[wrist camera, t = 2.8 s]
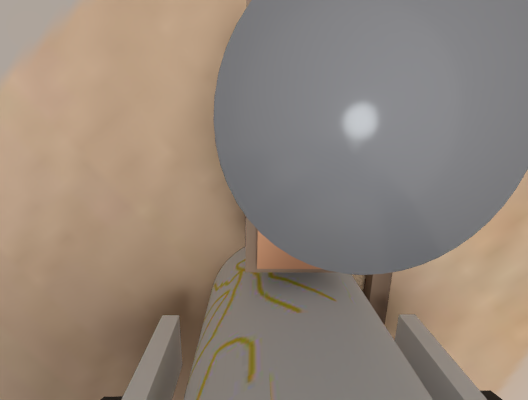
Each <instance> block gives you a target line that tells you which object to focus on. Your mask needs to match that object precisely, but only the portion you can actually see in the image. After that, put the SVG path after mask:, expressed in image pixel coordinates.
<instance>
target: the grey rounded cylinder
mask: <svg viewBox="0 0 528 400" xmlns="http://www.w3.org/2000/svg"><path fill="white" fill-rule="evenodd" d="M214 129H215V141H216V147H217V151H218V156H219V160H220V165H221V168H222V170H223V173H224V176H225V179H226V182H227V184H228V186H229V188H230V190H231V192H232V194H233V196H234V198H235V200H236V202H237V204H238V205H239V207H240V208H241V210H242V211H243V212H244V214H245V215H246V217H247V218H248V220H249V221H250V222H251V223H252V224H253V225H254V226H255V227H256V228H257V230H258V231H259V232H260V233H261V234H262V235H263V236H265V237H266V238H267V239H268V240H269V241H270V242H272V243H273V244H274V245H275V246H276V247H278V248H280V249H281V250H283V251H284V252H286V253H287V254H289V255H290V256H292V257H294V258H296V259H298V260H300V261H303V262H305V263H307V264H309V265H312V266H315V267H318V268H321V269H324V270H328V271H333V272H339V273H344V274H358V275H371V274H385V273H390V272H396V271H402V270H405V269H408V268H412V267H415V266H419V265H422V264H424V263H426V262H429V261H431V260H433V259H436V258H438V257H440V256H442V255H444V254H445V253H447V252H449V251H451V250H453V249H454V248H456V247H458V246H459V245H460V244H462V243H463V242H465V241H466V240H468V239H469V238H470V237H472V236H473V235H474V234H475V233H477V232H478V231H479V230H480V229H481V228H482V227H483V226H485V225H486V224H487V223H488V222H489V221H490V220H491V219H492V218H493V217H494V216H495V214H496V213H497V212H498V211H499V210H500V209H501V208H502V207H503V206H504V204H505V203H506V202H507V200H508V199H509V198H510V196H511V195H512V194H513V192H514V191H515V189H516V188H517V186H518V185H519V183H520V181H521V180H522V178H523V176H524V174H525V173H526V171H527V169H528V0H252V1H251V2H250V3H249V5H248V7H247V8H246V10H245V11H244V13H243V15H242V16H241V18H240V20H239V21H238V23H237V25H236V27H235V29H234V31H233V34H232V36H231V38H230V40H229V43H228V45H227V47H226V50H225V53H224V57H223V60H222V63H221V67H220V70H219V74H218V80H217V86H216V92H215V101H214Z"/></svg>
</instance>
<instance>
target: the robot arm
mask: <svg viewBox="0 0 528 400" xmlns="http://www.w3.org/2000/svg"><path fill="white" fill-rule="evenodd" d="M395 342H396V344H397V345H398V347H399V348H400V350H401V351H402V353H403V354H404V356H405V358H406V359H407V361H408V362H409V364H410V365H411V367H412V368H413V370H414V371H415V373H416V374H417V376H418V377H419V379H420V381H421V382H422V384H423V385H424V387H425V388H426V390H427V391H428V393H429V394H430V396H431V397H432V399H433V400H502V399H501V398H499V397H498V396H497V395H496V394H494V393H493V392H492V391H480V390H479V389H478V388H477V387H476V386H475V385H474V383H473V382H472V381H471V380H470V379H469V377H468V376H467V375H466V374H465V373H464V372H463V370H462V369H461V368H460V367H459V366H458V365H457V363H456V362H455V361H454V360H453V359H452V357H451V356H450V355H449V354H448V353H447V352H446V350H445V349H444V348H443V347H442V346H441V345H440V343H439V342H438V341H437V340H436V339H435V337H434V336H433V335H432V334H431V333H430V332H429V330H428V329H427V328H426V327H425V326H424V325H423V323H422V322H421V321H420V320H419V319H418V317H417V316H416V315H415V314H402V315H399V317H398V324H397V330H396V336H395ZM181 368H182V350H181V334H180V318H179V315H162V317H161V319H160V321H159V323H158V325H157V327H156V329H155V331H154V334H153V336H152V338H151V340H150V342H149V344H148V346H147V348H146V350H145V352H144V354H143V356H142V358H141V360H140V362H139V364H138V367H137V369H136V371H135V373H134V375H133V377H132V379H131V381H130V383H129V385H128V387H127V389H126V391H125V393H124V395H123V397H103V398H102V399H101V400H172V398H173V394H174V391H175V388H176V384H177V381H178V378H179V374H180V371H181Z"/></svg>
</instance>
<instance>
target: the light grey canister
mask: <svg viewBox="0 0 528 400" xmlns="http://www.w3.org/2000/svg"><path fill="white" fill-rule="evenodd" d="M184 400H433V399H432V397H431V396H430V394H429V393H428V391H427V390H426V388H425V387H424V385H423V384H422V382H421V381H420V379H419V377H418V376H417V374H416V373H415V371H414V370H413V368H412V367H411V365H410V364H409V362H408V361H407V359H406V358H405V356H404V354H403V353H402V351H401V350H400V348H399V347H398V345H397V344H396V342H395V341H394V339H393V338H392V336H391V335H390V333H389V331H388V330H387V328H386V327H385V325H384V324H383V322H382V321H381V319H380V318H379V316H378V315H377V313H376V312H375V310H374V308H373V307H372V305H371V304H370V302H369V301H368V299H367V298H366V296H365V295H364V293H363V292H362V290H361V289H360V287H359V286H358V284H357V282H356V281H355V279H354V278H353V276H352V275H351V274H344V273H274V272H245V247H244V248H242V249H240V250H239V251H238V252H236V253H235V254H234V255H233V256H232V257H230V258H229V259H228V261H227V262H226V263H225V264H224V265H223V267H222V268H221V269H220V271H219V273H218V275H217V277H216V279H215V281H214V284H213V287H212V291H211V295H210V299H209V303H208V307H207V311H206V314H205V318H204V322H203V326H202V330H201V334H200V338H199V342H198V346H197V349H196V353H195V357H194V361H193V365H192V369H191V373H190V377H189V380H188V384H187V388H186V392H185V396H184Z"/></svg>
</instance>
